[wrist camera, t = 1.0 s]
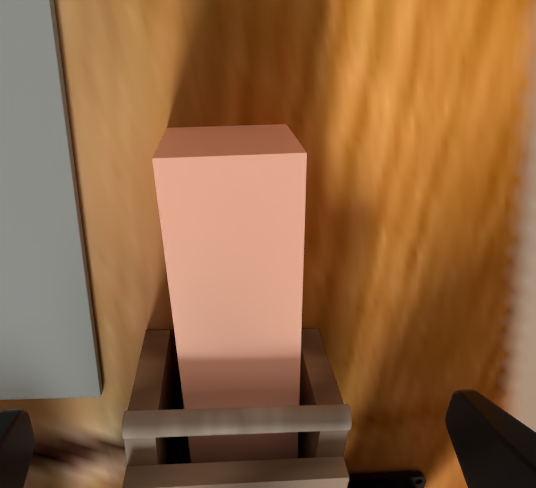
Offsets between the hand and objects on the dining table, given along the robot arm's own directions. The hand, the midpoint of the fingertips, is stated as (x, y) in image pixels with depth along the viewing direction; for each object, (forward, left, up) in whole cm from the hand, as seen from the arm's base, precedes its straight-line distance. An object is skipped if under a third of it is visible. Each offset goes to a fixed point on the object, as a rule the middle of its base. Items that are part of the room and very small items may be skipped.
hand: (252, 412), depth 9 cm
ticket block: (0, +5, -12) cm, 13 cm away
